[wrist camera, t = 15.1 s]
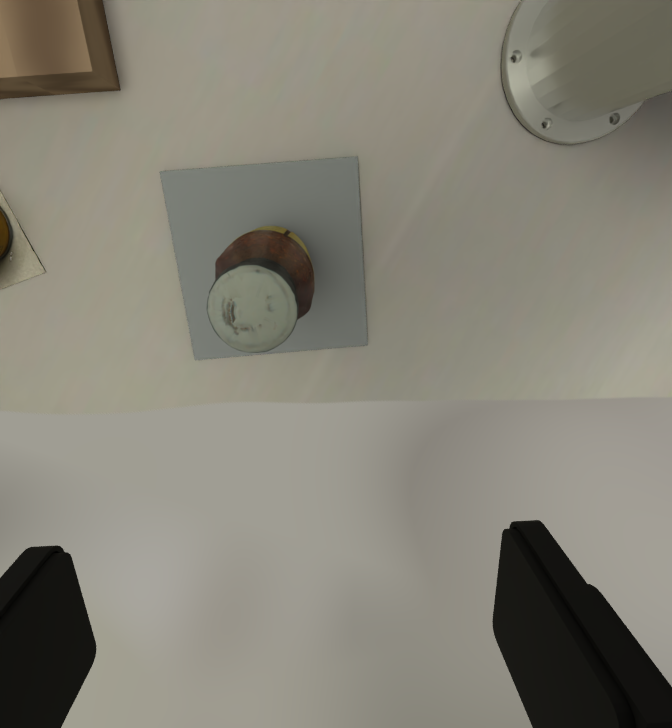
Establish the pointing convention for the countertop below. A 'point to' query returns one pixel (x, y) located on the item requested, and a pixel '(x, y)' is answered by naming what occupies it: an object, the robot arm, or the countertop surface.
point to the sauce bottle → (260, 289)
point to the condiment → (15, 250)
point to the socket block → (54, 48)
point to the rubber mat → (273, 208)
